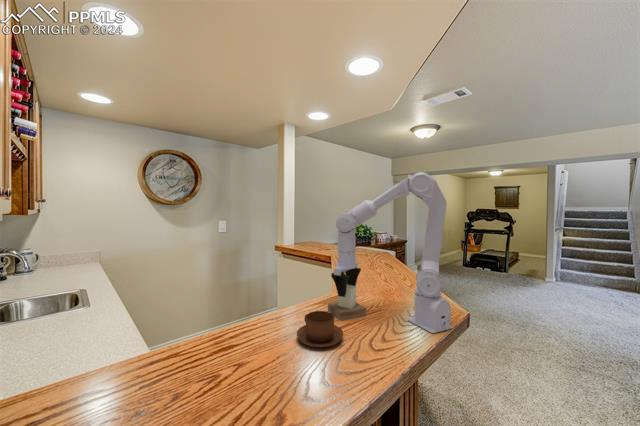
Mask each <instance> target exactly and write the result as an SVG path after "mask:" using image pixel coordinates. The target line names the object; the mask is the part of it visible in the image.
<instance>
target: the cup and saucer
mask: <svg viewBox="0 0 640 426" xmlns="http://www.w3.org/2000/svg"><path fill="white" fill-rule="evenodd" d="M304 322H305V325H302V326H301V327H299V329H297V331H296V336H297V339H298V341H300V342H301V343H302V344H304V345H306V346H307V347H308V346H309V347H313V348H327V347H331V346H334V345H337V344H338V343H339V342H340V341H341V340H342V339H343V338H344V337H343V336H344V332H343V329H342V328H341V327H340V326H337V325H335V316H334V315H333V314H332V313H330V312H329V311H326V310H316V311H310V312H308V313H306V314H305V315H304Z"/></svg>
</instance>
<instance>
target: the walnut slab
mask: <svg viewBox="0 0 640 426" xmlns="http://www.w3.org/2000/svg"><path fill="white" fill-rule="evenodd" d="M327 312H330V313H332V314H333V315H334V318H337V319H338V320H339V321H341V322H343V321H344V322H345V321H347V320H353V319H358V318H364V317H367V308H366V307H365V306H363V305H361V304H359V303H358V302H356V305H355V306H354V307H352V308H351V309H349V308H345V307H340V306H338V301H333V302H332V301H331V302H328V303H327Z"/></svg>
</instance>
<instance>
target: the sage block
mask: <svg viewBox="0 0 640 426" xmlns="http://www.w3.org/2000/svg"><path fill="white" fill-rule="evenodd" d="M337 302H338V306H340V307H345V308H349V309H351V308H352V307H354V306H355V305H356V303H357V285H356V286H352V285H347V287H346V295H345V297H341V296H338V295H337Z"/></svg>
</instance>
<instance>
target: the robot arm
mask: <svg viewBox="0 0 640 426" xmlns="http://www.w3.org/2000/svg"><path fill="white" fill-rule="evenodd" d="M410 193H411V194H412V195H414V196H416V197H417V198H418V199H421V200H422V202H423V203H424V204H425V205H426V206H427V207H428V211H427V218H426V219H427V220H426V225H425V226H426V228H425V232H424V233H425V236H424V240H423V241H424V242H423V249H422V257H421V262H420V267H419V269H418V271H417V273H416V274H415V280H416V289H414V317H411V318H408V319H407V321H408V322H410V323H412V324H413V325H415V326H417V327H419V328H421V329H423V330H425V331H426V332H429V333H431V334H436V333H439V332H443V331H447V330H450V329H451V330H452V329H453V325H451V317H452V314H451V313H452V312H451V311H452V310H451V309H452V308H451V304H450V302H449V301H448V300H447V299H445V298H443V296H442V292H441V289H442V284H441V281H440V279H439V275H440V257H441V251H442V250H441V249H442V243H443V234H444V227H445V218H446V211H447V199H446V197H445V195H444V194H443V192H442V190H441V188H440V186H439V184H438V183H437V180H436V179H434V177H432V176H431V175H429V174H428V173H427V172H422V171H421V172H416V173H415V174H413V175H412V176H411V178H410V177H407V178H405V179H403V180H401V181H399V182H398V183H396V184H394V185H393V186H391V187H390V188H389V189H387V190H386V191H384V192H383V193H381V194H380V195H379V196H376V198H375V199H372V200H369V199H365V200H360V201H359V202H358V205H356V206H354V207H353V208H352V209H347V210H346V213H341V214H339V216H338V217H337V218H336V221H335V226H336V229H337V262H336V263H334V268H333V272H332V273H331V275H330V276H331V278H332V280H333V282H334V284H335V288H336V292H337V297H338V296H341V297H345V295H346V287H347V285H352V286H356V287H357V282H358V277H359V275H360V274H361V271H362V268H360V267H359V261H358V260H356V228H357V226H361V225H362V224H364V223H366V222H367V221H369V220H371V219H372V218H374V217H375V216H377V212H378V210H379V209H380V208H382V207H384V206H386V205H387V204H389V203H390V202H392V201H394V200H395V199H398V198H400V197H405V196H411V194H410Z"/></svg>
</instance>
